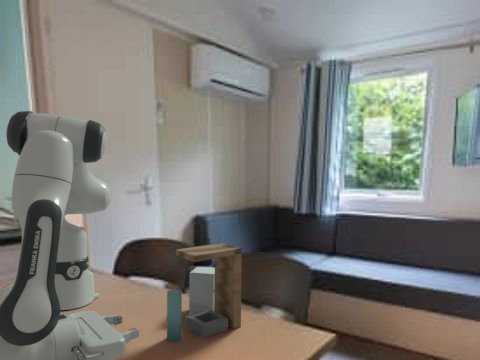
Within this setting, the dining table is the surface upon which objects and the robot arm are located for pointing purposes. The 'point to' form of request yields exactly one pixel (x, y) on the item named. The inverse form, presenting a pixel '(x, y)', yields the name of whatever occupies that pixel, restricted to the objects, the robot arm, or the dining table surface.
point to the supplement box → (201, 290)
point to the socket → (207, 323)
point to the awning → (222, 277)
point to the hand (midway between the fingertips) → (129, 325)
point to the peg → (174, 315)
